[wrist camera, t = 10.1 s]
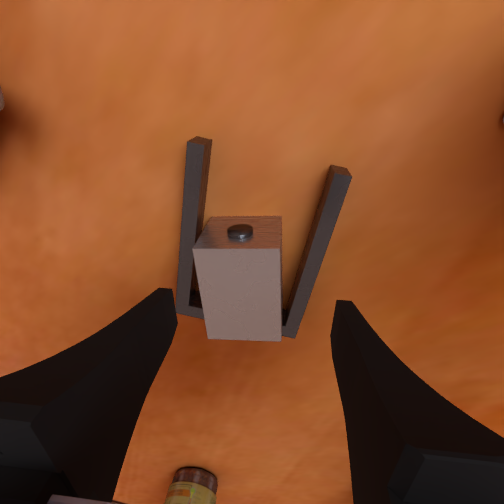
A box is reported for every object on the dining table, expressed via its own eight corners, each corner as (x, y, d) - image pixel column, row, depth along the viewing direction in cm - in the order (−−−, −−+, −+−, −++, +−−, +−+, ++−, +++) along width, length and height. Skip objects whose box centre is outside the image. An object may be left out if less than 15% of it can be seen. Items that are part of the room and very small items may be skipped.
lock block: (281, 210, 21) (279, 243, 16) (282, 295, 24) (281, 341, 20) (211, 212, 21) (191, 244, 17) (222, 294, 25) (208, 338, 21)
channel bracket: (346, 168, 19) (352, 176, 17) (294, 321, 25) (295, 338, 23) (196, 136, 19) (187, 141, 17) (182, 297, 25) (175, 312, 23)
